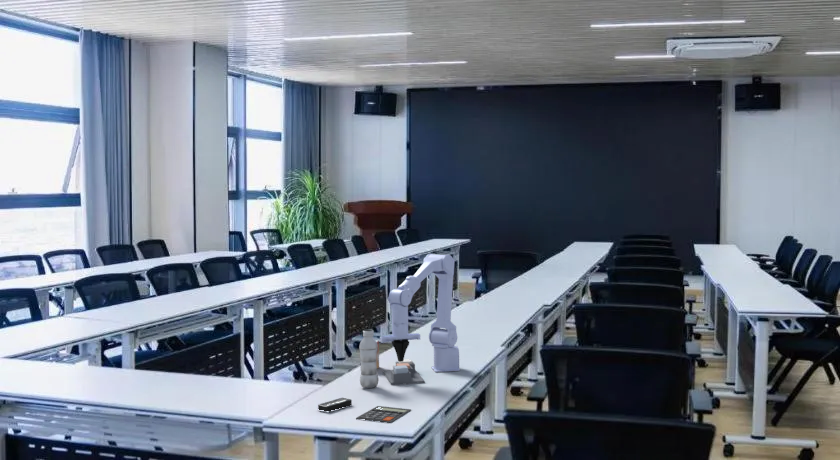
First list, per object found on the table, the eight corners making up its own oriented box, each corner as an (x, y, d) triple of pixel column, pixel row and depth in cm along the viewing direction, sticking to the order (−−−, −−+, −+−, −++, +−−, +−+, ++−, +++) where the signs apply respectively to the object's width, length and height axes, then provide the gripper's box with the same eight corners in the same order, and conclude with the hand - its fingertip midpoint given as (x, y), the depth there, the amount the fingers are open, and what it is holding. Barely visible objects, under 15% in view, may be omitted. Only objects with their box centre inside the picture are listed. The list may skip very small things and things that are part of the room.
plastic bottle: (381, 386, 293) (380, 329, 292) (374, 390, 287) (373, 332, 286) (364, 384, 295) (363, 328, 294) (356, 389, 289) (355, 331, 288)
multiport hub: (317, 411, 262) (317, 404, 262) (342, 404, 271) (342, 397, 271) (327, 414, 260) (327, 406, 259) (352, 406, 268) (352, 399, 268)
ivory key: (410, 365, 315) (409, 358, 315) (412, 368, 311) (412, 361, 311) (398, 366, 314) (398, 359, 314) (400, 368, 310) (400, 362, 310)
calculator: (355, 417, 252) (377, 405, 266) (355, 420, 252) (377, 408, 266) (390, 421, 247) (411, 408, 261) (390, 424, 248) (411, 411, 261)
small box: (374, 371, 316) (374, 344, 315) (360, 371, 317) (359, 343, 316) (379, 367, 324) (379, 340, 323) (365, 366, 325) (365, 339, 324)
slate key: (405, 372, 301) (405, 365, 300) (408, 375, 296) (407, 368, 296) (393, 373, 300) (393, 366, 300) (395, 375, 295) (395, 368, 295)
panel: (414, 370, 316) (414, 360, 316) (424, 383, 297) (424, 372, 296) (382, 372, 314) (382, 362, 314) (391, 385, 294) (391, 374, 294)
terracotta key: (408, 369, 308) (407, 363, 308) (410, 372, 304) (410, 365, 303) (396, 370, 307) (396, 363, 307) (398, 373, 303) (398, 366, 303)
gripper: (415, 319, 303) (415, 357, 304) (377, 322, 298) (377, 360, 299) (422, 322, 297) (422, 360, 297) (383, 325, 292) (383, 364, 292)
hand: (400, 360), depth 298 cm, fingers closed
